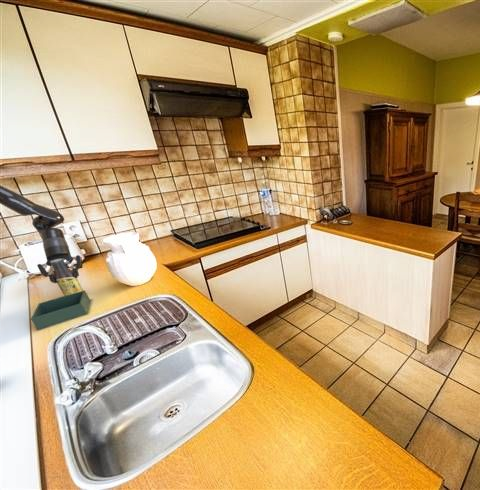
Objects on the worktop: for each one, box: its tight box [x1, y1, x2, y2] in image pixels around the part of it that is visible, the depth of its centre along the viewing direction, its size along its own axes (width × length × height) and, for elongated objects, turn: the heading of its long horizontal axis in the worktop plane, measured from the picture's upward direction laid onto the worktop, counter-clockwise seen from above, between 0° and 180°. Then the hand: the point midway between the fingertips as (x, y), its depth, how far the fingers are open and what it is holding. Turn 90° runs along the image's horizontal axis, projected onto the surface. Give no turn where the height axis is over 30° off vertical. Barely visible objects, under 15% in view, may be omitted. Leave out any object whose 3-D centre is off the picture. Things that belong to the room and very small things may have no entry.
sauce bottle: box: [50, 259, 84, 296], centre depth 122 cm, size 6×6×20 cm
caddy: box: [30, 289, 91, 331], centre depth 113 cm, size 14×14×5 cm
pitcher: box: [102, 231, 158, 287], centre depth 133 cm, size 19×18×25 cm
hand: (65, 279), depth 121 cm, fingers closed on sauce bottle, 6 cm apart
